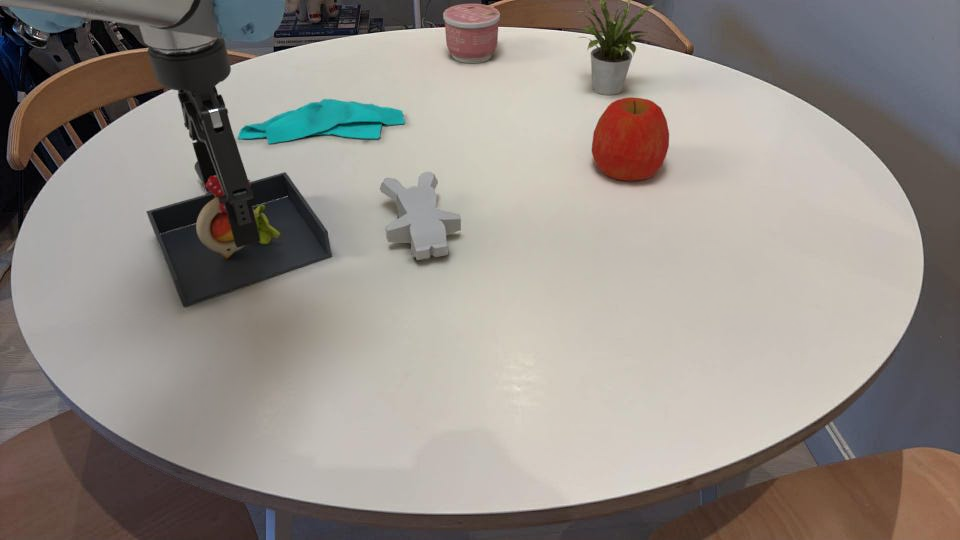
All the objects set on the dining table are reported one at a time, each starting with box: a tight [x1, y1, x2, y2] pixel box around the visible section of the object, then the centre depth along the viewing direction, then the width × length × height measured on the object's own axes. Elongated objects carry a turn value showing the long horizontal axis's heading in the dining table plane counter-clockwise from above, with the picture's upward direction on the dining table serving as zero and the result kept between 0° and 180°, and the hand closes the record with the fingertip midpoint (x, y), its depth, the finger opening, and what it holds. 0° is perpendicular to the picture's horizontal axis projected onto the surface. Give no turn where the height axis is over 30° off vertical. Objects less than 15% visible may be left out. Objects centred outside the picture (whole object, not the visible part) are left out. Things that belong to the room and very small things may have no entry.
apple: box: [591, 96, 670, 182], centre depth 99 cm, size 11×11×11 cm
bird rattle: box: [195, 175, 280, 259], centre depth 84 cm, size 6×11×9 cm
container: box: [442, 3, 501, 64], centre depth 131 cm, size 10×10×8 cm
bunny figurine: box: [379, 171, 462, 261], centre depth 90 cm, size 10×5×15 cm
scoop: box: [146, 161, 333, 308], centre depth 91 cm, size 27×18×4 cm
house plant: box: [577, 0, 658, 96], centre depth 118 cm, size 14×14×16 cm
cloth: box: [237, 98, 406, 145], centre depth 113 cm, size 26×14×2 cm, turn 93°
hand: (231, 213), depth 84 cm, fingers open, 13 cm apart
